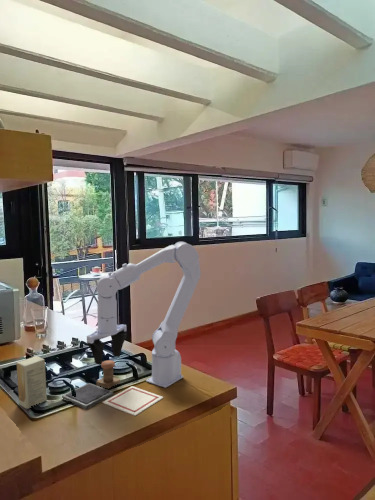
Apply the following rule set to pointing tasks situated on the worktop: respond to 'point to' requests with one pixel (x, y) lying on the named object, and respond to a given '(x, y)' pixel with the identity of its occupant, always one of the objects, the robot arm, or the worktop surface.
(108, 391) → the ink pad
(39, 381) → the skincare box
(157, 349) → the robot arm
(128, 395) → the marked sheet
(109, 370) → the stamp
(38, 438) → the worktop surface
